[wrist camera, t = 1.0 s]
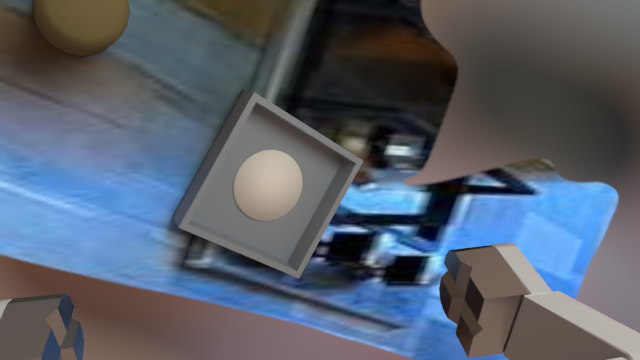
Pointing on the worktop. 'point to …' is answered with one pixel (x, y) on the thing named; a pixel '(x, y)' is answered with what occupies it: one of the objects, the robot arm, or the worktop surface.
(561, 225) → the worktop surface
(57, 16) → the cork
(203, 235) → the tray
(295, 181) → the resting spot
